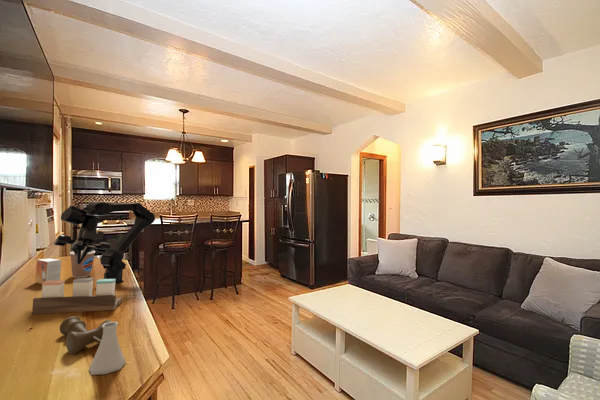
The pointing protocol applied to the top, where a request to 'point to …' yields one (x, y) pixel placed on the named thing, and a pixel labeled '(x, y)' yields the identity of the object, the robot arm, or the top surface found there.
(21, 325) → the top surface
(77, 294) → the grey key
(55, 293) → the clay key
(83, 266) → the coffee cup
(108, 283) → the teal key
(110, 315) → the top surface
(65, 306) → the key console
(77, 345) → the kendama
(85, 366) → the top surface
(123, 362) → the flask
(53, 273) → the small box
